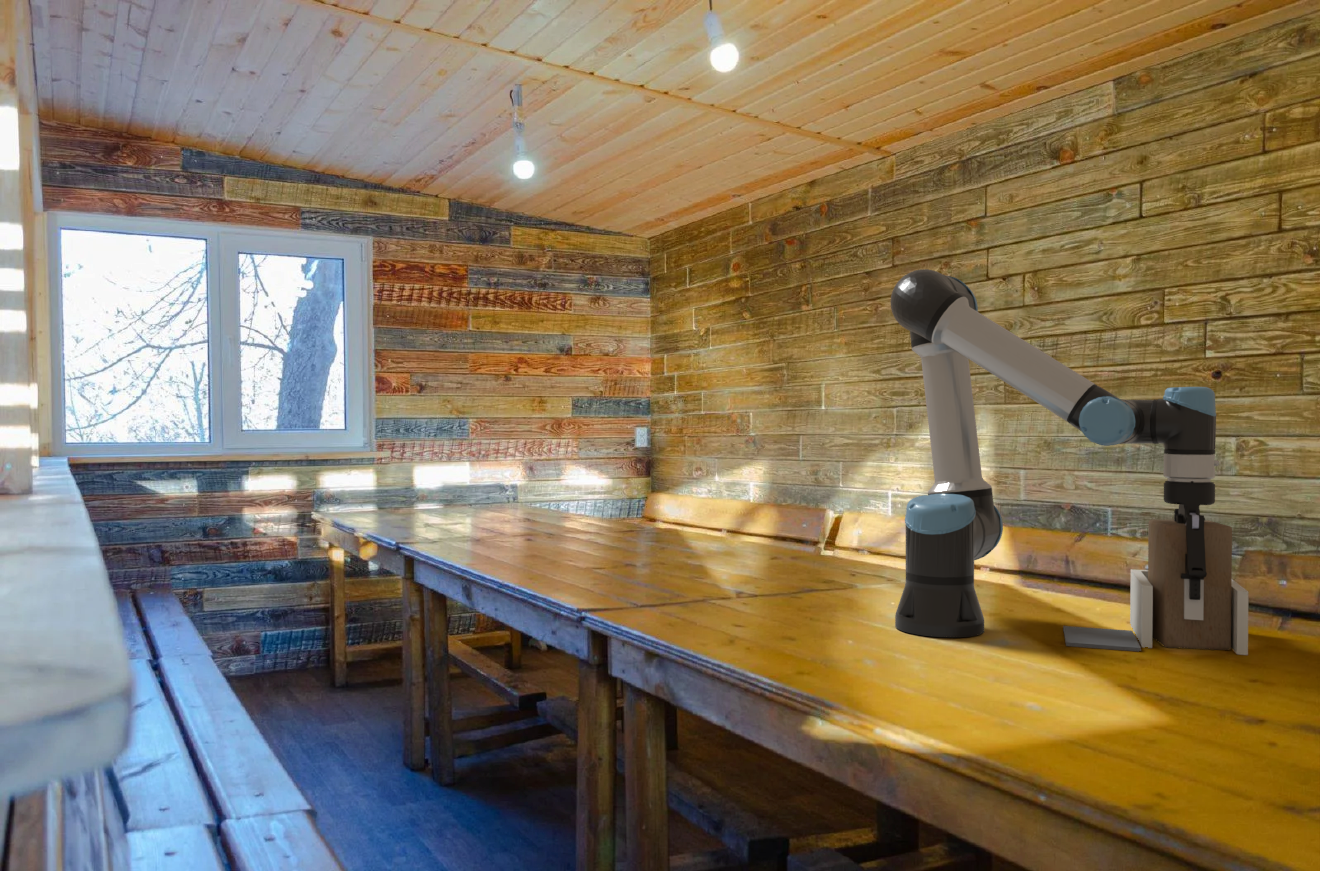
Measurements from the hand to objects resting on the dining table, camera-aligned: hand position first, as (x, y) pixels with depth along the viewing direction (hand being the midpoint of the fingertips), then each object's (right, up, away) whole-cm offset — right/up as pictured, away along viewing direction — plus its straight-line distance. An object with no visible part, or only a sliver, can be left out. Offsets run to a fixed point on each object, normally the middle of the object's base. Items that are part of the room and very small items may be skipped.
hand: (1188, 613), depth 162 cm
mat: (-14, -5, +2) cm, 15 cm away
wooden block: (0, -5, 0) cm, 5 cm away
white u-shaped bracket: (+1, -5, +2) cm, 5 cm away
